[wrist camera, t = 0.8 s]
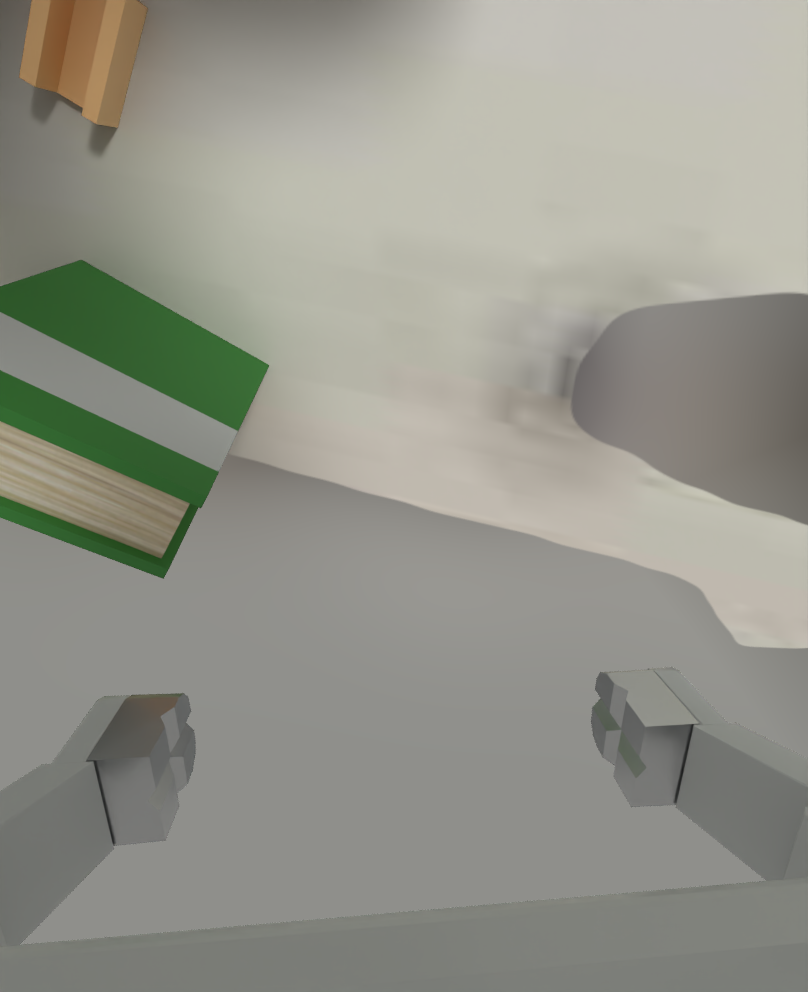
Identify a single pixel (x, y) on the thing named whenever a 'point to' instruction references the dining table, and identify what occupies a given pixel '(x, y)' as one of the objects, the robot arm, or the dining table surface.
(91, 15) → the chute
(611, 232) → the dining table surface
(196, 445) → the hardback book
